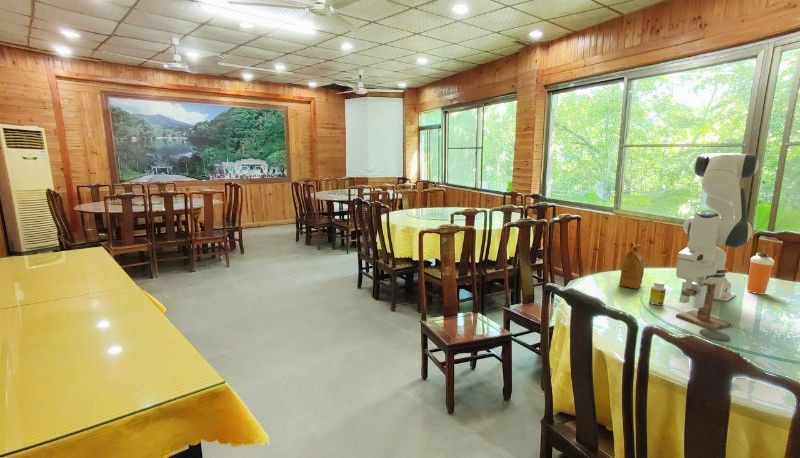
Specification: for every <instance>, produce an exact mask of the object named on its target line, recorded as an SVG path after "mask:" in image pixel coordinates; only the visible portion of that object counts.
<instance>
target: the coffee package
mask: <svg viewBox="0 0 800 458" xmlns="http://www.w3.org/2000/svg"><path fill="white" fill-rule="evenodd" d="M642 247H643V246H642V245H641V243H638V244H635V245H633V246H632V248H631V249H630V250H629V251H628V252H627V253H626V254H625V256H624V258H623V261H622V265H621V268H620V270H621V271H620V278H619V284H618V285H619V287H623V288H630V289H638V288H639V287H640V286H641V285H642V283H643V277H644V270H645V263H644V258H643V257H642V255H641V253H640V249H641V248H642Z"/></svg>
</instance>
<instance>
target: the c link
mask: <svg viewBox="0 0 800 458" xmlns="http://www.w3.org/2000/svg"><path fill="white" fill-rule="evenodd" d="M692 284H694V286H693V288H692V289H690V290H694V291H696V296H695V298H694V303H693V307H694V308H695V309H696V308H697V309H699V308H702V307H704V302H705V297H706V291H707V285H703V284H699V283H696V282H692ZM686 285H687V283H686V280H682V284H681V289H680V296H679V300H678V301H679V303H681V304H687V303H690V297H691V296H684V295H682V290H685V289H688V288H686Z"/></svg>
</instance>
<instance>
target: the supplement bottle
mask: <svg viewBox="0 0 800 458" xmlns="http://www.w3.org/2000/svg"><path fill="white" fill-rule="evenodd" d="M666 290H667V288H666V287H665V283H664V282H662V281H659V280H658V281H654V282H653V284H652V285H651V289H650V293H649V301H648V302H649V303H650V302H651V303H653V304H657V305H662V306H664V303H665V297H666ZM651 303H650V304H651ZM653 304H652V305H653ZM657 305H656V306H657Z"/></svg>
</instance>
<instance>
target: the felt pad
mask: <svg viewBox="0 0 800 458" xmlns="http://www.w3.org/2000/svg"><path fill="white" fill-rule="evenodd" d="M698 333H699V334H700V335H701V336H702V337H705V338H707V339H709V340H712V341H717V342H729V341H730V340H731V337H730V336H729V335H728V334H727V333H724V332H721V331H718V330H710V329H708V328H702V329H700V330H699V332H698Z"/></svg>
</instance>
